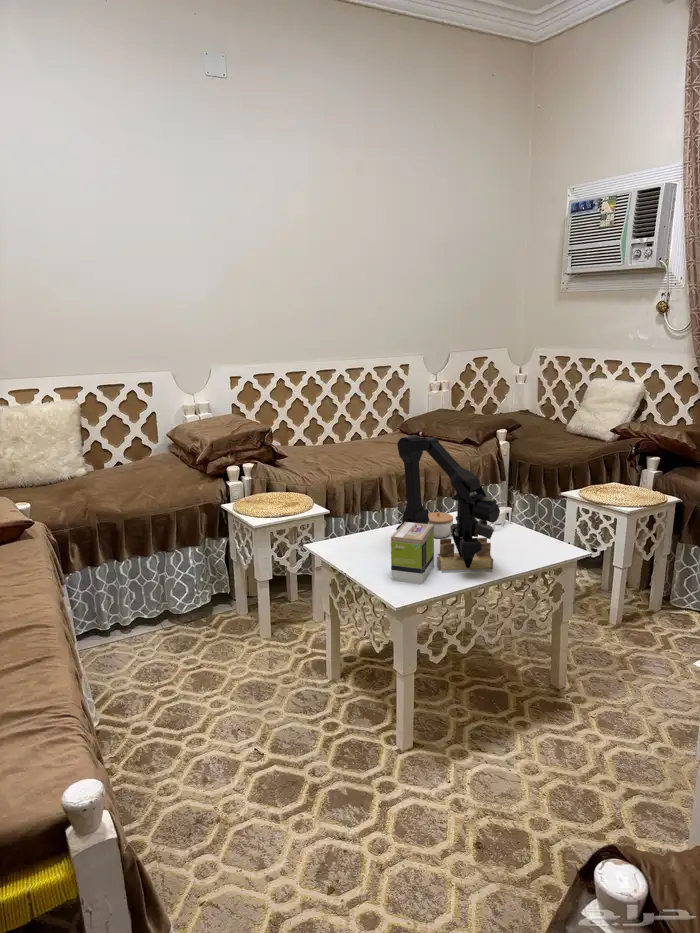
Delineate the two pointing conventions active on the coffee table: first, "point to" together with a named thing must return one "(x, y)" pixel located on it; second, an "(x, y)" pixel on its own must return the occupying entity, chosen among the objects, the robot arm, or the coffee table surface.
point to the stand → (448, 551)
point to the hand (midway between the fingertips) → (464, 562)
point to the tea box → (412, 552)
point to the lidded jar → (440, 523)
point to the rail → (459, 564)
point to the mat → (466, 570)
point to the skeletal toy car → (501, 517)
